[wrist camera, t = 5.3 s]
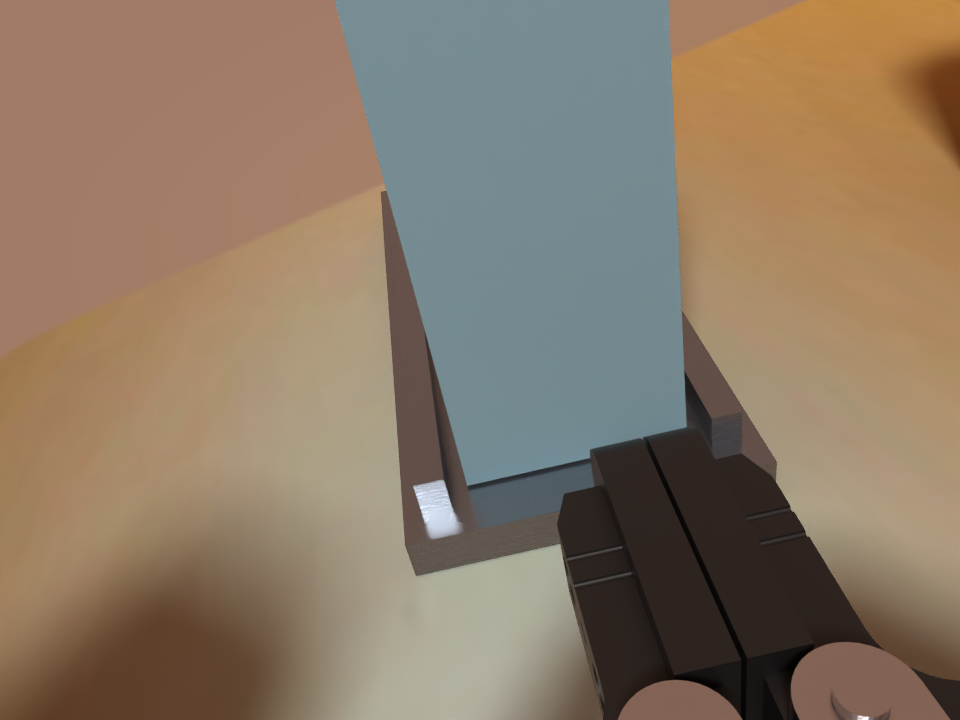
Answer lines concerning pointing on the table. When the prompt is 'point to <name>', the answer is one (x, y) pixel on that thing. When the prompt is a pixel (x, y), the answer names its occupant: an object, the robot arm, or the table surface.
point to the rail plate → (523, 497)
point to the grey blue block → (533, 214)
